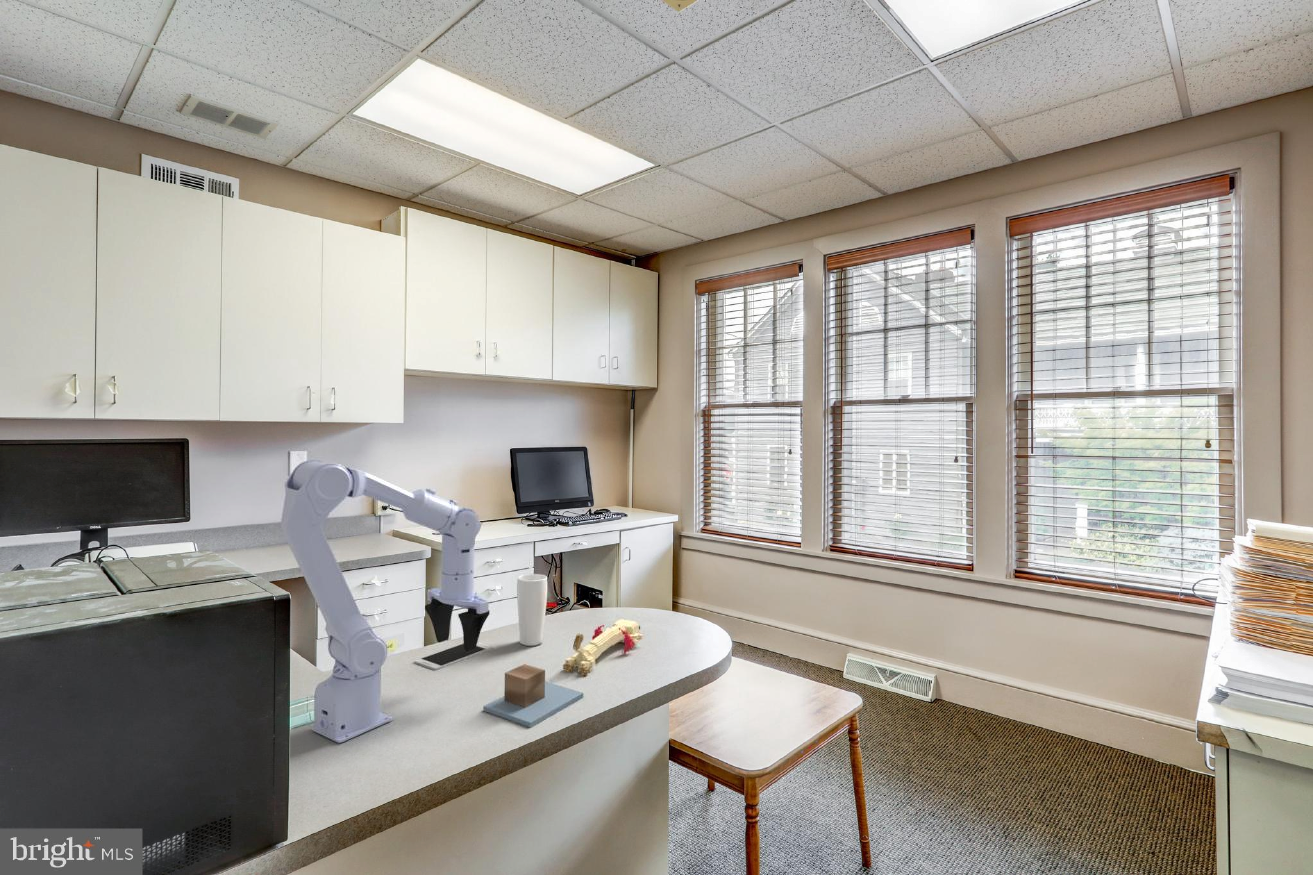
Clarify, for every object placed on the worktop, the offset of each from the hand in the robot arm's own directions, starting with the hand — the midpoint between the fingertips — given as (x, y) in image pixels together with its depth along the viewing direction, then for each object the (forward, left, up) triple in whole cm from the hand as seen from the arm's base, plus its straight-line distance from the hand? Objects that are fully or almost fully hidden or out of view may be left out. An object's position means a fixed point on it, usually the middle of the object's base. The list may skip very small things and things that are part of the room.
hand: (456, 645), depth 118 cm
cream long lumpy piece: (+32, -11, -9) cm, 35 cm away
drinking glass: (+28, +7, -9) cm, 30 cm away
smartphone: (+13, +15, -10) cm, 22 cm away
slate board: (+5, -15, -9) cm, 18 cm away
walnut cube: (+4, -14, -8) cm, 16 cm away
